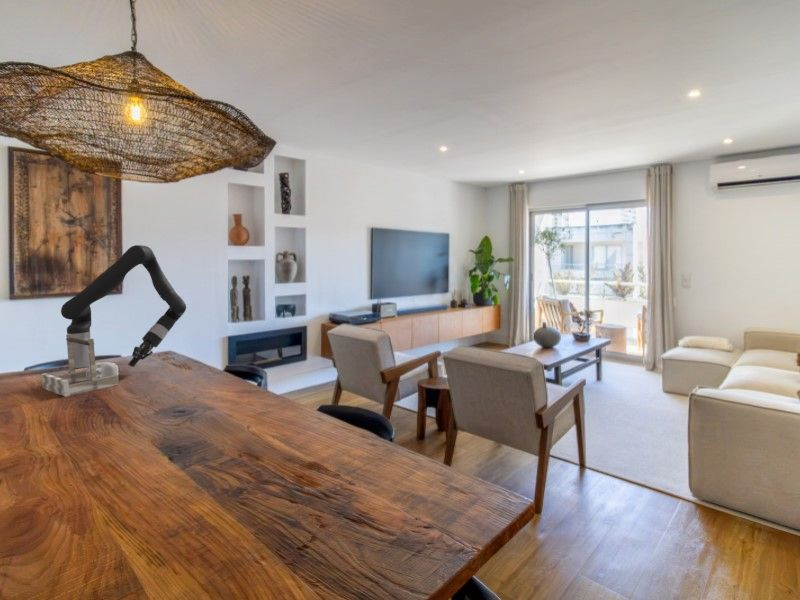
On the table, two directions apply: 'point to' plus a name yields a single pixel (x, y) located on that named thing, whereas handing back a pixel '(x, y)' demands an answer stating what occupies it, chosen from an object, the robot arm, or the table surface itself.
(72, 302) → the robot arm
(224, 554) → the table surface
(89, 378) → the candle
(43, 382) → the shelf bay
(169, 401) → the table surface
